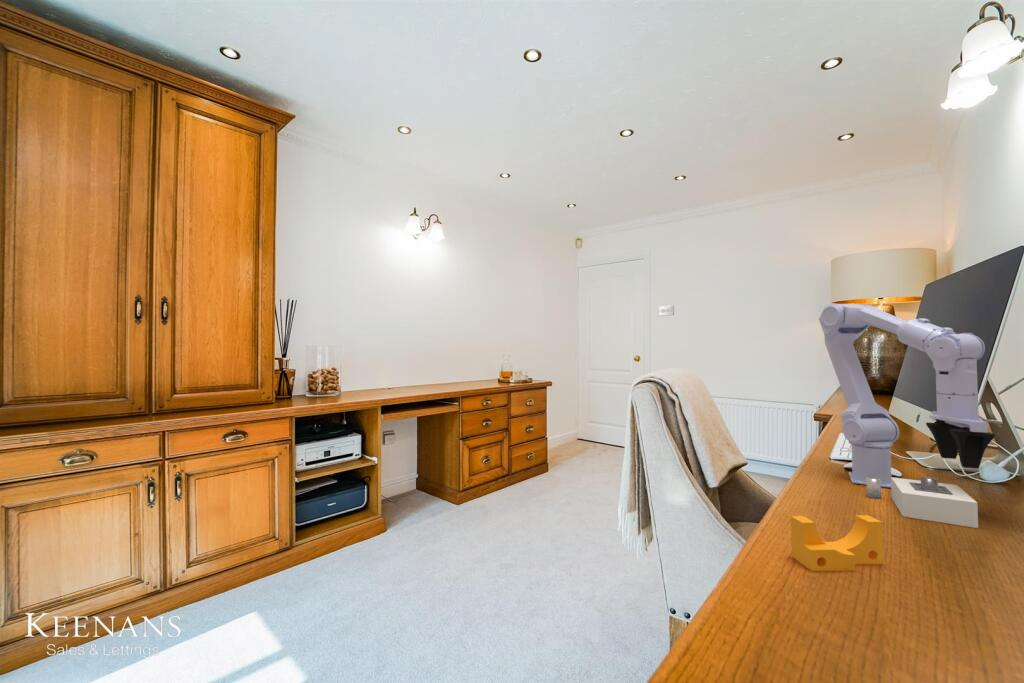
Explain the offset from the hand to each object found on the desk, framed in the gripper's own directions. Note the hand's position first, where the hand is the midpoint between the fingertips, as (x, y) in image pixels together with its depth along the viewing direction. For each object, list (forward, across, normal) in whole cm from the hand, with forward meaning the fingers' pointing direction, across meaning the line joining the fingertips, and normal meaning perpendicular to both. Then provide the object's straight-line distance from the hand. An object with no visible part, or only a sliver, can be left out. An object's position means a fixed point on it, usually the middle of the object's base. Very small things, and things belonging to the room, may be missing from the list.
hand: (958, 462), depth 84 cm
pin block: (+9, +3, -6) cm, 11 cm away
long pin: (+9, +3, -6) cm, 11 cm away
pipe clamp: (+10, +34, -28) cm, 45 cm away
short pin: (+9, -3, -13) cm, 16 cm away
